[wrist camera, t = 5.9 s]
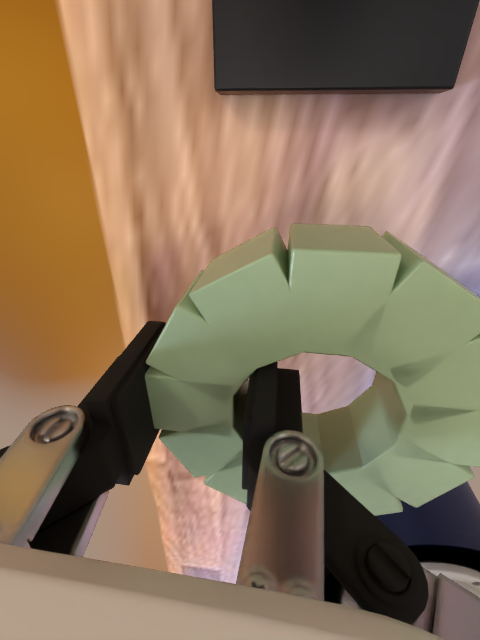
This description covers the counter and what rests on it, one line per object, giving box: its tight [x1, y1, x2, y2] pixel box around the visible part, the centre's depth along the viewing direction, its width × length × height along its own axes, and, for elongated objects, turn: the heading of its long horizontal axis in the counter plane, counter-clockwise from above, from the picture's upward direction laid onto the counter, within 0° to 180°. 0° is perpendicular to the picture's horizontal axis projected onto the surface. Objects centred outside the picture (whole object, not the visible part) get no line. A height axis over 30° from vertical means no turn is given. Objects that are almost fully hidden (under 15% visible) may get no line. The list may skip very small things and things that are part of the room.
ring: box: [145, 223, 480, 516], centre depth 10 cm, size 10×10×3 cm
